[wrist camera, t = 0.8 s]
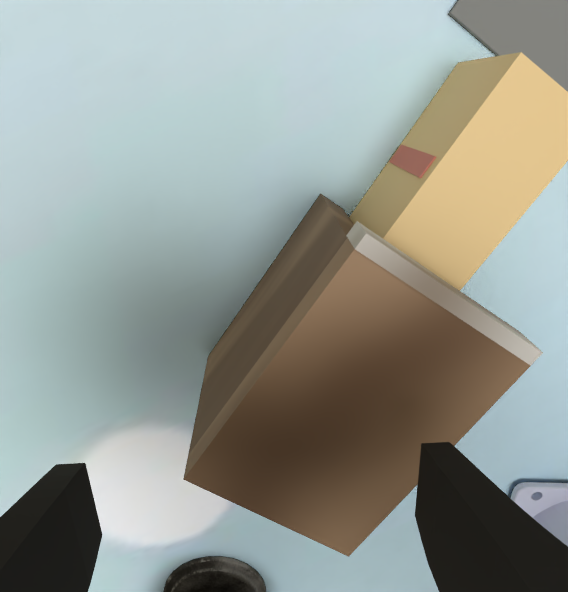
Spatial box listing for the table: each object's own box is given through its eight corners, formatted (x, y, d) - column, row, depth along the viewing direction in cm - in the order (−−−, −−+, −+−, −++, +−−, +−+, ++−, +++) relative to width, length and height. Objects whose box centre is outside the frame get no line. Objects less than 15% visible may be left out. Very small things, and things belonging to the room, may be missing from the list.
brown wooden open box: (447, 266, 19) (543, 352, 13) (322, 418, 22) (348, 556, 15) (327, 183, 18) (366, 233, 11) (207, 356, 20) (183, 479, 14)
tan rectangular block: (520, 115, 17) (602, 121, 13) (326, 366, 21) (343, 433, 17) (454, 62, 17) (520, 50, 12) (265, 331, 20) (266, 393, 16)
